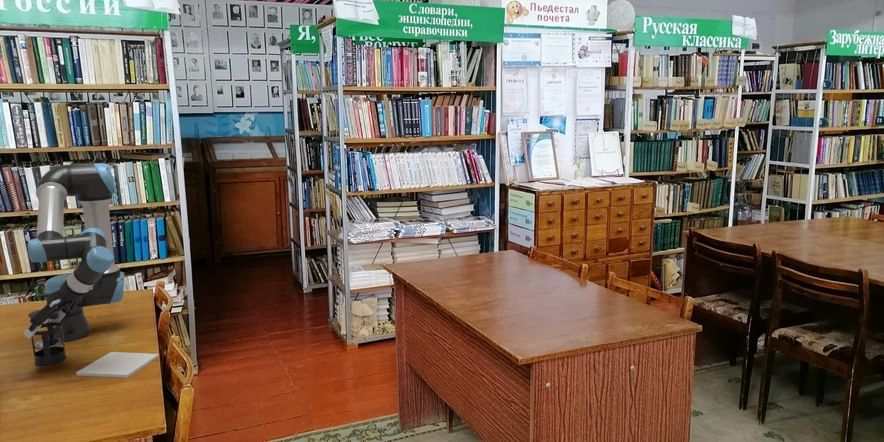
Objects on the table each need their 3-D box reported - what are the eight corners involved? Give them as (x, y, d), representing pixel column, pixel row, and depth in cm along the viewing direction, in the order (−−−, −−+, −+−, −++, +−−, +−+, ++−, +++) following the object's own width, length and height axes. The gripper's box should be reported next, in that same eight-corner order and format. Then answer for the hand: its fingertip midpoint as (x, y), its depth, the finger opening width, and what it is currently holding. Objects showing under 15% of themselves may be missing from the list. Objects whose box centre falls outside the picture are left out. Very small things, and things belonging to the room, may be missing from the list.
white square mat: (111, 354, 230) (111, 351, 229) (159, 356, 227) (158, 353, 227) (76, 375, 212) (75, 372, 212) (127, 377, 209) (127, 374, 209)
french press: (64, 364, 215) (55, 297, 211) (31, 369, 212) (21, 301, 207) (69, 352, 226) (60, 287, 222) (37, 356, 222) (28, 291, 218)
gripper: (60, 304, 201) (21, 350, 206) (108, 284, 224) (71, 326, 229) (43, 287, 201) (4, 334, 206) (92, 268, 223) (55, 311, 228)
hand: (39, 329), depth 217 cm, fingers closed on french press, 10 cm apart
